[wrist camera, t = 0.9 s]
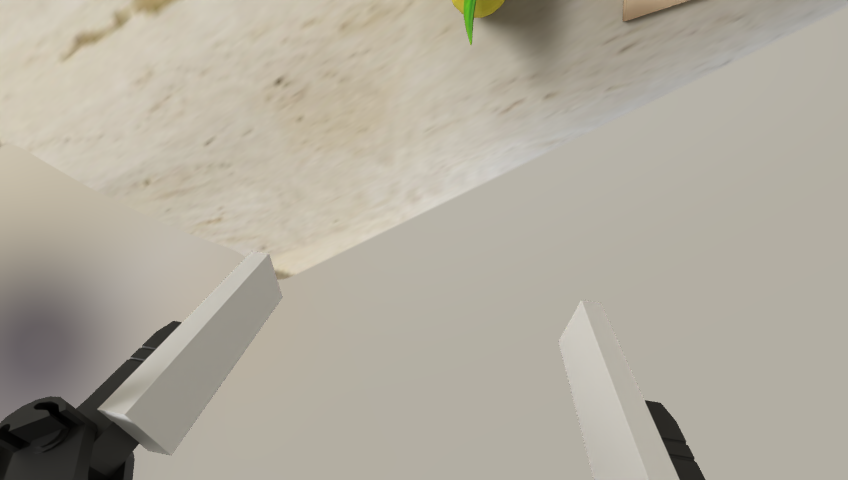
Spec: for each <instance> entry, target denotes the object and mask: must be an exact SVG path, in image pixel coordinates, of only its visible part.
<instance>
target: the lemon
mask: <svg viewBox="0 0 848 480" xmlns="http://www.w3.org/2000/svg"><path fill="white" fill-rule="evenodd" d="M504 1H505V0H452V2H453V4H454V6H455V7H456V8H457V9H458V10H459V11H460V12H461V13H462V14H464V20H465V26H466V30H467V34H468V38H469V42H470V45H471V44H472V32H473V20H474V18H482V17H485V16H488V15H490V14H492V13H493V12H495V11H496V10H497V9H498V8H499V7H500V6H501V5H502V4H503V3H504Z"/></svg>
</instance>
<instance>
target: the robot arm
mask: <svg viewBox="0 0 848 480" xmlns="http://www.w3.org/2000/svg"><path fill="white" fill-rule="evenodd" d="M281 299H282V294H281V291H280V288H279V284H278V281H277V278H276V274H275V271H274V268H273V265H272V261H271V258H270V255H269V253H263V252H256V251H252V252H251V253H250V254H249V255H248V256H247V257H246V258H245V259H244V260H243V261H242V262H241V263H240V264H239V265H238V266H237V267H236V268H235V269H234V270H233V271H232V272H231V273H230V274H229V275H228V276H227V277H226V278H225V279H224V280H223V281H222V282H221V283H220V285H218V286H217V288H216V289H215V290H214V291H213V292H212V293H211V294H210V295H209V296H208V297H207V298H206V299H205V300H204V301H203V302H202V303H201V304H200V305H199V306H198V307H197V308H196V309H195V310H194V311H193V312H192V313H191V314H190V315H189V316H188V317H187V318H186V319H185V320H184V321H183V322H177V321H173V322H171V323H170V324H168V325H167V326H165V327H163V328H162V329H160V330H159V331H157V332H156V333H155V334H154V335H153V336H152V337H151V338H150V339H148V340H147V341H146V342H145V343H144V344H143V346H142V348H139V349H138V350H137V351H136V352H135V353H134V354H133V355H132V356H131V358H130V359H129V360H127V361H126V362H125V363H124V364H123V365H122V366H121V367H120V368H118V369H117V370H116V371H115V373H113V374H112V375H111V376H110V377H109V378H108V379H107V380H106V381H105V382H104V383H103V384H102V385H101V386H100V387H99V388H98V389H97V390H96V391H95V392H94V393H93V394H92V395H91V396H90V397H89V398H88V399H87V400H85V401H84V402H83V403H82V404H81V405H80V406H79V407H78V408H76V409H75V408H74V407H73V406H71V405H70V404H69V403H67V402H66V401H65V400H63V399H62V398H61V397H46V398H42V399H38V400H35V401H33V402H31V403H29V404H27V405H24V406H22V407H21V408H19V409H18V410H16V411H15V412H14V413H12V414H10V415H9V416H7V417H6V418H5V419H4V420H3V421H2V422H1V423H0V480H132V479H133V469H134V454H133V450H134V449H135V448H136V446H137V445H138V444H141V445H142V446H143V447H144V448H146V449H147V450H148V451H152V452H157V453H162V454H166V455H172V454H173V452H174V451H175V450H176V448H177V447H178V445H179V444H180V442H181V441H182V439H183V438H184V437H185V435H186V434H187V432H188V431H189V430H190V428H191V427H192V425H193V424H194V423H195V421H196V420H197V418H198V417H199V415H200V414H201V412H202V411H203V410H204V408H205V407H206V405H207V404H208V403H209V401H210V400H211V398H212V397H213V395H214V394H215V393H216V391H217V390H218V388H219V387H220V386H221V384H222V382H223V381H224V380H225V379H226V377H227V375H228V374H229V373H230V371H231V370H232V369H233V367H234V366H235V364H236V363H237V361H238V360H239V359H240V357H241V356H242V354H243V353H244V351H245V350H246V349H247V347H248V346H249V344H250V343H251V342H252V340H253V339H254V337H255V336H256V334H257V333H258V332H259V330H260V329H261V327H262V326H263V324H264V323H265V322H266V320H267V319H268V317H269V316H270V314H271V313H272V311H273V310H274V309H275V307H276V306H277V305H278V303H279V302H280V300H281ZM558 342H559V346H560V350H561V354H562V358H563V361H564V365H565V369H566V373H567V377H568V381H569V385H570V389H571V393H572V397H573V400H574V404H575V408H576V412H577V416H578V420H579V424H580V427H581V432H582V436H583V439H584V443H585V447H586V451H587V455H588V459H589V463H590V467H591V471H592V474H593V478H594V480H705V478H704V476H703V474H702V472H701V470H700V468H699V466H698V465H697V463H696V462H695V461H694V456H693V454H692V452H691V450H690V448H689V446H688V445H686V440H685V438H684V436H683V434H682V432H681V430H680V428H679V426H678V424H677V422H676V421H675V420H674V418H673V417H672V416H671V415H670V413H669V412H668V411H667V410H666V409H665V407H663V405H662V404H661V403H658V402H652V401H646V400H644V399H643V396H642V394H641V392H640V389H639V387H638V385H637V382H636V380H635V378H634V376H633V373H632V371H631V369H630V367H629V365H628V362H627V360H626V358H625V356H624V353H623V351H622V349H621V346H620V344H619V342H618V340H617V337H616V335H615V333H614V331H613V328H612V326H611V324H610V322H609V320H608V317H607V315H606V313H605V310H604V308H603V306H602V304H601V303H599V302H592V301H586V300H581V302H580V303H579V305H578V307H577V309H576V311H575V313H574V314H573V316H572V318H571V320H570V321H569V323H568V325H567V327H566V329H565V330H564V332H563V334H562V336H561V338H560V340H559V341H558Z"/></svg>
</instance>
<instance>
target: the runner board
mask: <svg viewBox="0 0 848 480" xmlns="http://www.w3.org/2000/svg"><path fill="white" fill-rule="evenodd" d="M686 1H689V0H624V2H623V21H628V20H631V19H634V18H637V17H640V16H643V15H646V14H649V13H652V12H655V11H659V10H662V9H665V8H668V7H671V6H674V5H677V4H680V3H683V2H686Z"/></svg>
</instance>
